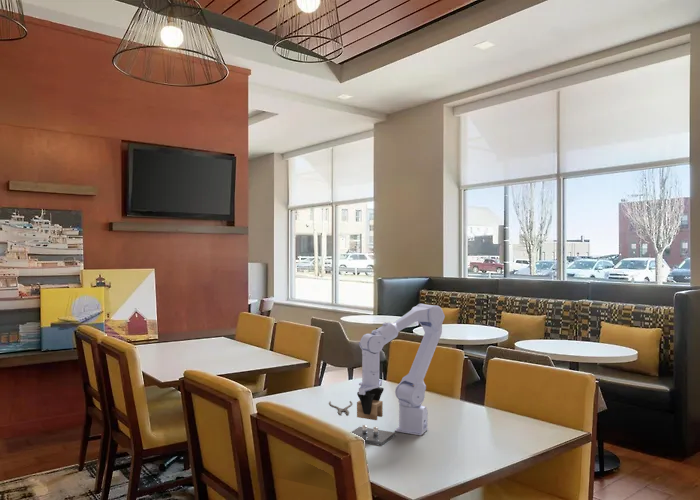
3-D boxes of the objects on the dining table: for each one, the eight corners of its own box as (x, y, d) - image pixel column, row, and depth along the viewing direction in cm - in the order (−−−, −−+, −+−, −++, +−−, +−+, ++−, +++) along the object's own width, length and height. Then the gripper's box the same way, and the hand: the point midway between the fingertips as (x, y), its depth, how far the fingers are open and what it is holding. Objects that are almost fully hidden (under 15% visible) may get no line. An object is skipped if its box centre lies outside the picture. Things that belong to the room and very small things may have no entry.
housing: (382, 416, 178) (382, 401, 178) (376, 420, 174) (376, 404, 174) (363, 413, 181) (363, 398, 181) (356, 417, 177) (356, 402, 177)
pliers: (349, 399, 223) (365, 412, 204) (349, 401, 223) (365, 415, 204) (326, 401, 220) (340, 414, 201) (326, 403, 220) (340, 417, 201)
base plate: (394, 435, 179) (394, 424, 179) (381, 445, 170) (381, 434, 170) (359, 429, 185) (359, 419, 185) (345, 439, 175) (345, 428, 175)
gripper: (368, 365, 186) (368, 404, 186) (350, 373, 173) (349, 415, 173) (387, 367, 183) (387, 407, 183) (370, 375, 170) (369, 418, 170)
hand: (370, 411), depth 177 cm, fingers closed on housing, 5 cm apart
